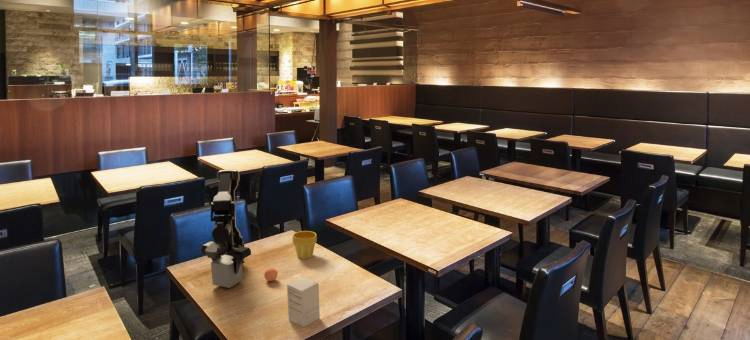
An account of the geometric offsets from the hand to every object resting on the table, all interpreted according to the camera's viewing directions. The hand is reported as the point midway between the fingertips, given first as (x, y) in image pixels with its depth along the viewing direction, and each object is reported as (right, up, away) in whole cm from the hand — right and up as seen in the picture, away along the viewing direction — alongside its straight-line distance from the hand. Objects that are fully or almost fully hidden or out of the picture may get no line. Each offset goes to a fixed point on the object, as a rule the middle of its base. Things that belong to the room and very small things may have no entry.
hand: (227, 271), depth 172 cm
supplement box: (+32, -11, -23) cm, 41 cm away
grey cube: (0, -4, +1) cm, 4 cm away
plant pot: (+25, 0, +28) cm, 38 cm away
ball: (+15, -2, +4) cm, 16 cm away
